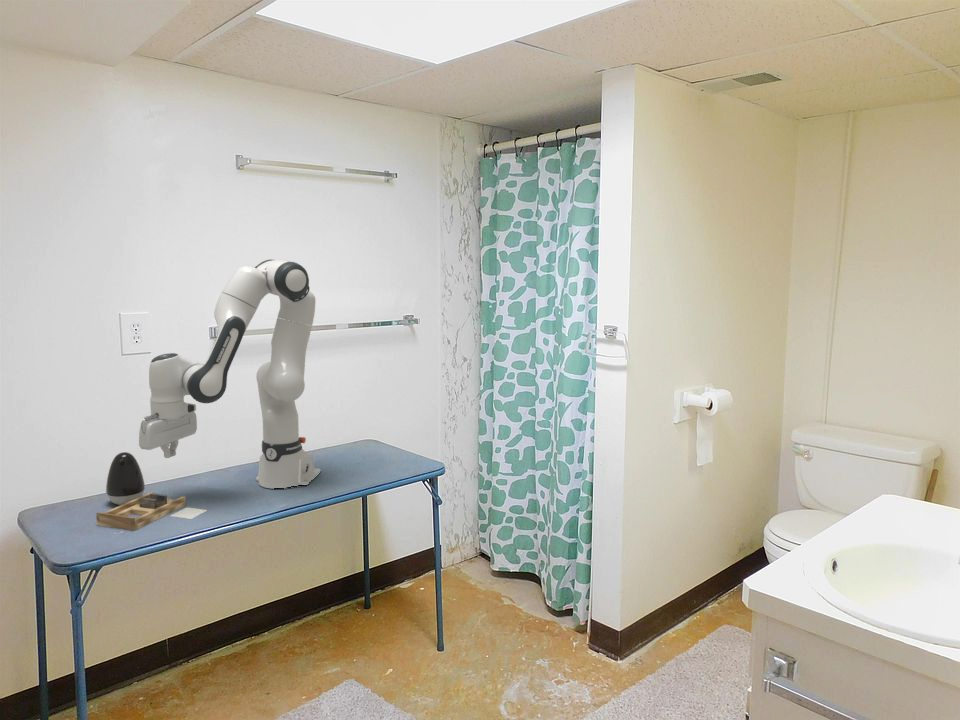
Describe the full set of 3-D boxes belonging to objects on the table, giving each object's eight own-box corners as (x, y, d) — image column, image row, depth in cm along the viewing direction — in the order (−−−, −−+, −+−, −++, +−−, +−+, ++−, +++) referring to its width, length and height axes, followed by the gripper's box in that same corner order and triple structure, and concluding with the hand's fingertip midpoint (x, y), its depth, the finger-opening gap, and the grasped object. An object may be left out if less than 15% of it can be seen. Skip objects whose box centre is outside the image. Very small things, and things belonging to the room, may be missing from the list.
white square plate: (186, 511, 201) (186, 507, 201) (207, 514, 199) (207, 510, 199) (169, 520, 194) (169, 515, 194) (191, 523, 192) (191, 518, 192)
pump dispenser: (103, 509, 201) (99, 458, 199) (111, 497, 211) (108, 448, 208) (142, 507, 204) (139, 456, 201) (148, 495, 214) (145, 446, 211)
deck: (151, 504, 206) (150, 489, 205) (186, 509, 203) (185, 494, 202) (97, 529, 187) (96, 513, 186) (134, 534, 184) (133, 518, 183)
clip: (152, 501, 201) (152, 492, 201) (167, 503, 200) (166, 494, 200) (139, 507, 197) (139, 498, 196) (154, 509, 195) (154, 500, 195)
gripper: (150, 418, 191) (153, 467, 193) (199, 404, 210) (201, 448, 212) (131, 417, 192) (134, 465, 195) (182, 402, 212) (184, 446, 214)
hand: (170, 456), depth 204 cm, fingers closed
